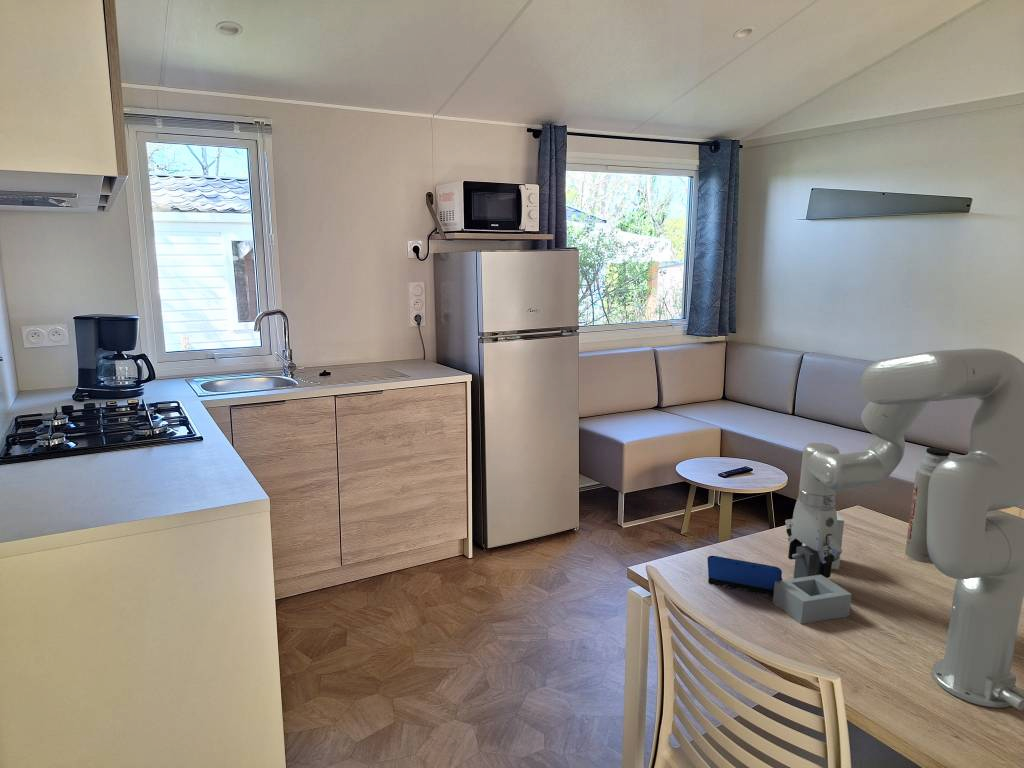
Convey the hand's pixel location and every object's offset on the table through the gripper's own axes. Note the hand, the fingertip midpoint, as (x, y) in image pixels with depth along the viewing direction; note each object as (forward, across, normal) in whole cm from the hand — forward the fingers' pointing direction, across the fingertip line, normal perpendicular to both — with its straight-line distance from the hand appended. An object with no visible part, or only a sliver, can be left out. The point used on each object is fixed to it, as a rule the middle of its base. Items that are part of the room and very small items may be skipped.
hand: (808, 567), depth 156 cm
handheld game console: (+4, +2, +16) cm, 16 cm away
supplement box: (+4, +8, -10) cm, 13 cm away
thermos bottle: (+4, +4, -38) cm, 38 cm away
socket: (+3, -11, +8) cm, 14 cm away
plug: (+3, 0, +1) cm, 4 cm away
